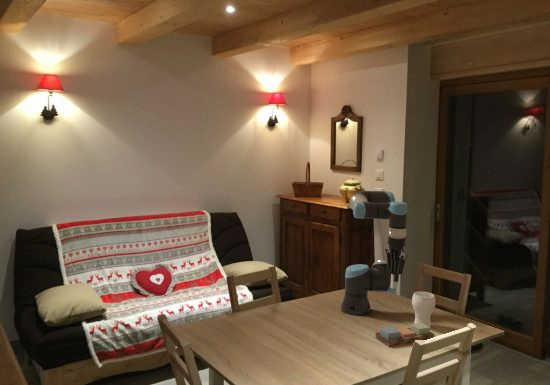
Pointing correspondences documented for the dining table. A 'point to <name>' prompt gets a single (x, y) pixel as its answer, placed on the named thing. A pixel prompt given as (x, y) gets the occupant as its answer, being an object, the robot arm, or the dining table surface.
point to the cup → (423, 307)
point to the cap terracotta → (406, 332)
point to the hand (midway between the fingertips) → (393, 287)
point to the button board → (403, 339)
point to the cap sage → (420, 328)
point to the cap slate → (389, 333)
